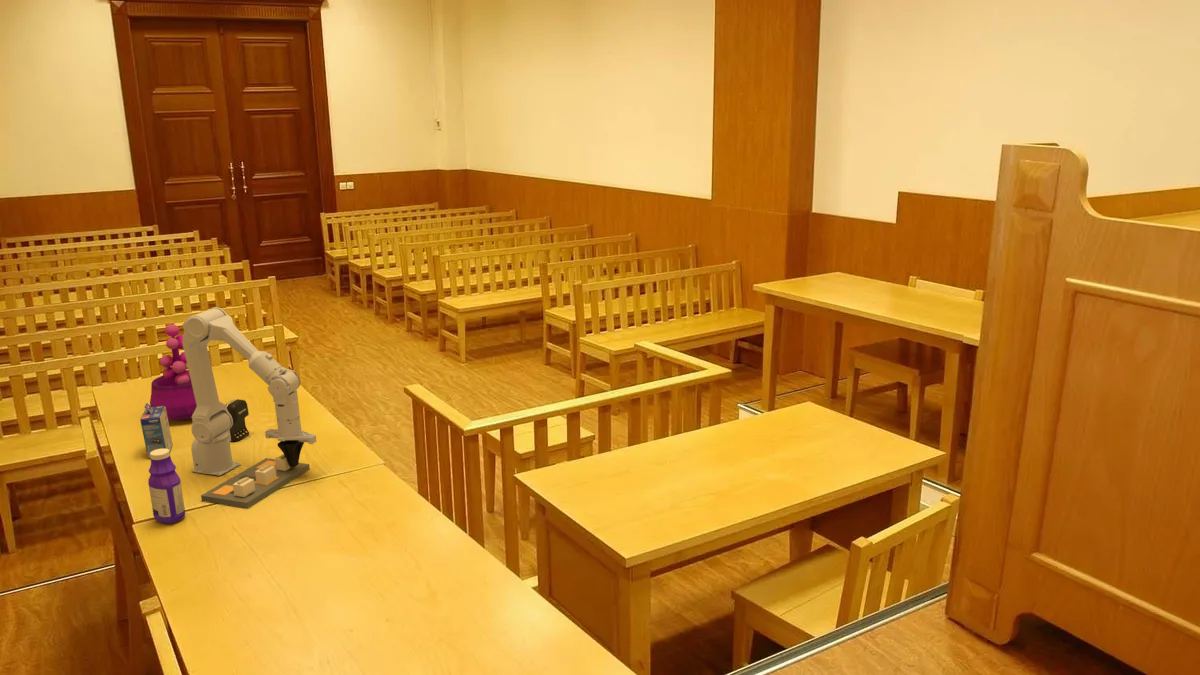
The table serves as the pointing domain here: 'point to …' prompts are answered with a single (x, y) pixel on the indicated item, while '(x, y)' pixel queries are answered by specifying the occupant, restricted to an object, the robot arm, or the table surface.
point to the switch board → (262, 490)
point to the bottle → (165, 488)
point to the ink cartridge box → (156, 429)
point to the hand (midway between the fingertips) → (294, 465)
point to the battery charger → (238, 419)
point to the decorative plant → (174, 381)
